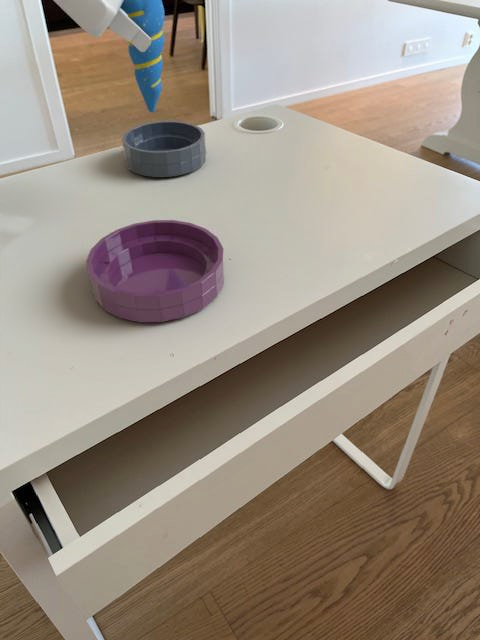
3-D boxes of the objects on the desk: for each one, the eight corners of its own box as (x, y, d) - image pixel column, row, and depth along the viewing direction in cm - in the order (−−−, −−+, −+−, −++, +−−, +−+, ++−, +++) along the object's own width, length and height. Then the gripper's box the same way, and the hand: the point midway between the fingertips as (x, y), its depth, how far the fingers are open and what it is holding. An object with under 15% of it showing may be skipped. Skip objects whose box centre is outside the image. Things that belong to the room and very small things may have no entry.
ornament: (124, 113, 66) (104, -27, 56) (151, 103, 69) (136, -31, 60) (154, 120, 64) (138, -24, 54) (180, 109, 67) (170, -29, 57)
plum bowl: (68, 310, 57) (59, 281, 54) (131, 239, 67) (126, 212, 65) (196, 337, 53) (193, 308, 50) (240, 258, 64) (240, 230, 61)
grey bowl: (112, 174, 82) (107, 146, 79) (147, 143, 92) (144, 117, 89) (188, 184, 79) (185, 156, 76) (217, 151, 89) (215, 125, 86)
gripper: (39, -82, 45) (163, 39, 52) (77, -92, 60) (169, 2, 67) (3, -20, 48) (125, 86, 55) (49, -45, 63) (140, 40, 70)
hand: (150, 39), depth 61 cm, fingers closed on ornament, 5 cm apart
